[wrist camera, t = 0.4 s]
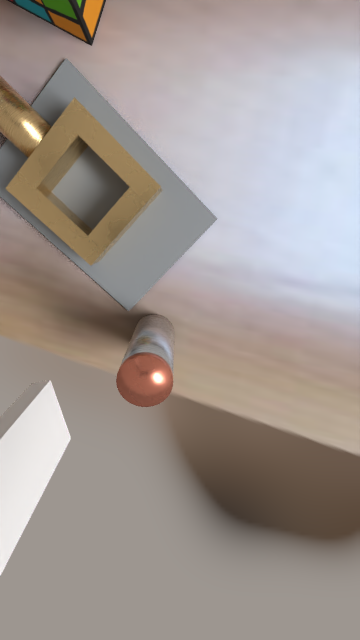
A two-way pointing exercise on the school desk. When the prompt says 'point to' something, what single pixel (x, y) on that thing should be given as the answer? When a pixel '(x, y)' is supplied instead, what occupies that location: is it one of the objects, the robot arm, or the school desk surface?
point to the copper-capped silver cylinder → (148, 363)
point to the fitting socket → (55, 161)
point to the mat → (113, 196)
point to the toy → (68, 15)
